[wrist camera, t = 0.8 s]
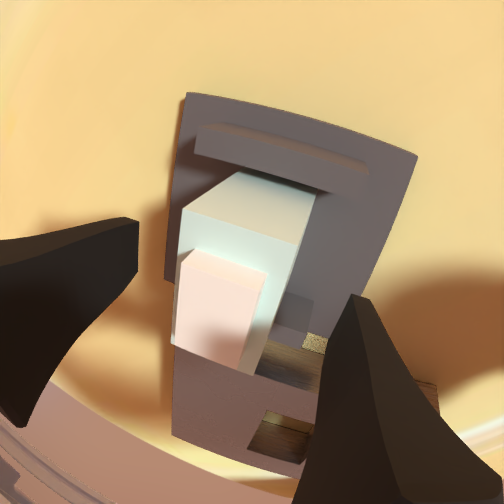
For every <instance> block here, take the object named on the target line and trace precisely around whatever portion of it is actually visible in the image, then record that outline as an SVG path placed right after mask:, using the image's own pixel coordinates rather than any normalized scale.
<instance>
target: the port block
mask: <svg viewBox="0 0 504 504" xmlns="http://www.w3.org/2000/svg"><path fill="white" fill-rule="evenodd" d="M323 360H324V355H322V354H319V353H316V352H313V351H310V350H307V349H303V348H300V350H299V349H296V348H293V347H290V346H287V345H284V344H281V343H278V342H275V341H273V340H270V339H267V341H266V344H265V346H264V349H263V352H262V354H261V357H260V359H259V362H258V365H257V367H256V370H255V372H254V375H253V376H251V375H248V374H246V373H243V372H240V371H237V370H235V369H232V368H229V367H227V366H224V365H222V364H219V363H217V362H214V361H211V360H209V359H206V358H204V357H202V356H199V355H197V354H194V353H192V352H190V351H187V350H185V349H182V348H180V347H178V346H176V345H175V356H174V374H173V398H172V435H173V436H175V437H177V438H179V439H182V440H184V441H186V442H189V443H191V444H193V445H196V446H198V447H201V448H203V449H206V450H208V451H211V452H213V453H216V454H219V455H221V456H224V457H227V458H230V459H233V460H235V461H238V462H241V463H244V464H247V465H250V466H254V467H257V468H260V469H263V470H267V471H270V472H274V473H277V474H281V475H285V476H288V477H292V478H296V479H300V478H301V475H302V472H303V469H304V466H305V462H306V459H307V455H308V452H309V448H310V445H311V441H312V436H313V431H314V426H315V425H314V426H313V427H312V429H311V430H310V431H309V432H308V434H305V433H302V432H298V431H295V430H291V429H288V428H284V427H281V426H278V425H275V424H271V423H268V422H265V421H262V419H263V417H264V415H265V413H266V411H267V410H268V411H271V412H274V413H277V414H281V415H284V416H287V417H290V418H294V419H297V420H301V421H304V422H308V423H311V424H315V419H316V411H317V403H318V395H319V386H320V378H321V369H322V364H323ZM415 382H416V383H417V385H418V386H419V388H420V389H421V391H422V392H423V393H424V395H425V396H426V398H427V399H428V401H429V402H430V403H431V405H432V406H433V407H434V409H435V410H436V411H437V412H438V414H439V415H440V410H439V403H438V396H437V389H436V385H431V384H427V383H423V382H419V381H415Z"/></svg>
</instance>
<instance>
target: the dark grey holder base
mask: <svg viewBox="0 0 504 504" xmlns="http://www.w3.org/2000/svg"><path fill="white" fill-rule="evenodd" d="M417 159H418V156H417V155H415V154H413V153H411V152H409V151H406V150H404V149H401V148H399V147H396V146H394V145H391V144H388V143H386V142H383V141H380V140H378V139H375V138H372V137H369V136H366V135H364V134H361V133H358V132H355V131H352V130H349V129H346V128H343V127H340V126H336V125H333V124H330V123H327V122H323V121H320V120H317V119H313V118H310V117H306V116H302V115H299V114H295V113H291V112H287V111H284V110H280V109H275V108H271V107H267V106H263V105H258V104H254V103H249V102H244V101H240V100H235V99H230V98H224V97H219V96H213V95H207V94H201V93H195V92H187V93H186V98H185V104H184V109H183V115H182V121H181V127H180V134H179V140H178V147H177V154H176V161H175V168H174V176H173V184H172V192H171V201H170V211H169V221H168V231H167V242H166V255H165V269H164V280H167V281H169V282H172V283H174V284H175V275H176V264H177V254H178V244H179V235H180V226H181V218H182V210H183V208H184V207H186V206H187V205H188V204H190V203H191V202H193V201H194V200H196V199H197V198H199V197H200V196H202V195H203V194H205V193H206V192H208V191H209V190H211V189H212V188H214V187H215V186H217V185H218V184H220V183H221V182H223V181H224V180H226V179H227V178H229V177H230V176H232V175H233V174H235V173H236V172H238V171H240V170H241V169H243V168H244V167H248V168H252V169H255V170H259V171H262V172H266V173H269V174H273V175H276V176H279V177H283V178H286V179H289V180H293V181H296V182H299V183H302V184H305V185H309V186H312V187H315V188H318V191H317V194H316V197H315V201H314V204H313V207H312V210H311V213H310V217H309V220H308V223H307V226H306V229H305V232H304V236H303V239H302V242H301V245H300V248H299V251H298V254H297V257H296V260H295V263H294V266H293V269H292V272H291V275H290V278H289V281H288V284H287V287H286V290H285V292H284V295H283V298H282V301H281V303H280V306H279V309H278V312H277V314H276V317H275V320H274V322H273V325H272V328H271V331H270V333H269V336H268V339H270V340H273V341H275V342H278V343H281V344H284V345H287V346H290V347H293V348H296V349H299V350H300V348H301V346H302V344H303V342H304V340H305V337H306V335H307V332H310V333H313V334H316V335H319V336H322V337H325V338H328V339H329V338H330V336H331V334H332V332H333V330H334V328H335V326H336V324H337V322H338V320H339V318H340V316H341V314H342V312H343V310H344V308H345V306H346V304H347V301H348V299H349V297H350V295H351V293H352V294H355V295H358V296H361V294H362V292H363V290H364V288H365V286H366V284H367V282H368V280H369V278H370V276H371V273H372V271H373V269H374V267H375V265H376V263H377V260H378V258H379V256H380V254H381V251H382V249H383V247H384V245H385V242H386V240H387V238H388V235H389V233H390V230H391V228H392V226H393V223H394V221H395V218H396V216H397V213H398V211H399V208H400V206H401V203H402V200H403V198H404V195H405V192H406V190H407V187H408V184H409V182H410V179H411V176H412V173H413V170H414V167H415V165H416V162H417Z"/></svg>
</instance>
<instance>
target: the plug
mask: <svg viewBox="0 0 504 504" xmlns="http://www.w3.org/2000/svg"><path fill="white" fill-rule="evenodd" d="M317 191H318V188H315V187H312V186H309V185H305V184H302V183H299V182H296V181H293V180H289V179H286V178H283V177H279V176H276V175H273V174H269V173H266V172H262V171H259V170H255V169H252V168H248V167H244V168H243V169H241V170H240V171H238V172H236V173H235V174H233V175H232V176H230V177H229V178H227V179H226V180H224V181H223V182H221V183H220V184H218V185H217V186H215V187H214V188H212V189H211V190H209V191H208V192H206V193H205V194H203V195H202V196H200V197H199V198H197V199H196V200H194V201H193V202H191V203H190V204H188V205H187V206H186V207H184V208H183V210H182V218H181V226H180V235H179V244H178V254H177V264H176V275H175V287H174V299H173V313H172V329H171V344H173V345H176V346H178V347H180V348H182V349H185V350H187V351H190V352H192V353H194V354H197V355H199V356H202V357H204V358H206V359H209V360H211V361H214V362H217V363H219V364H222V365H224V366H227V367H229V368H232V369H235V370H237V371H240V372H243V373H246V374H248V375H251V376H253V375H254V372H255V370H256V367H257V365H258V362H259V359H260V357H261V354H262V352H263V349H264V346H265V344H266V341H267V339H268V336H269V333H270V331H271V328H272V325H273V322H274V320H275V317H276V314H277V312H278V309H279V306H280V303H281V301H282V298H283V295H284V292H285V290H286V287H287V284H288V281H289V278H290V275H291V272H292V269H293V266H294V263H295V260H296V257H297V254H298V251H299V248H300V245H301V242H302V239H303V236H304V232H305V229H306V226H307V223H308V220H309V217H310V213H311V210H312V207H313V204H314V201H315V197H316V194H317Z"/></svg>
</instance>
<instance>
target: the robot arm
mask: <svg viewBox="0 0 504 504" xmlns="http://www.w3.org/2000/svg"><path fill="white" fill-rule="evenodd" d="M138 243H139V221H136V220H133V219H130V218H127V217H119V218H112V219H107V220H102V221H98V222H93V223H89V224H85V225H81V226H77V227H73V228H68V229H64V230H59V231H55V232H50V233H46V234H41V235H36V236H30V237H23V238H17V239H8V240H0V412H1V413H2V414H3V415H4V416H5V417H6V418H7V419H8V420H9V421H10V422H11V423H12V424H13V425H15V426H16V427H18V428H23V427H26V426H27V423H28V421H29V418H30V416H31V414H32V412H33V409H34V407H35V405H36V403H37V401H38V399H39V397H40V395H41V393H42V391H43V390H44V388H45V386H46V384H47V383H48V381H49V379H50V377H51V376H52V374H53V373H54V371H55V369H56V368H57V366H58V365H59V363H60V362H61V360H62V359H63V357H64V356H65V355H66V353H67V352H68V350H69V349H70V348H71V346H72V345H73V344H74V342H75V341H76V340H77V339H78V337H79V336H80V335H81V334H82V333H83V332H84V331H85V330H86V329H87V328H88V326H89V325H90V324H91V323H92V322H93V321H94V320H95V319H96V318H97V317H98V316H99V315H100V314H101V313H102V312H103V311H104V310H105V309H106V308H107V307H108V306H109V305H110V304H111V303H112V302H113V301H114V300H115V299H116V298H117V297H118V296H119V295H120V294H121V293H122V292H123V291H124V289H125V288H126V287H127V286H128V284H129V283H130V282H131V280H132V279H133V278H134V276H135V275H136V273H137V272H138ZM0 446H1V447H2V448H3V449H4V450H5V451H6V452H8V454H10V455H11V456H12V457H13V458H14V459H15V460H16V461H17V462H18V463H20V464H21V465H22V466H23V467H24V468H25V469H27V470H28V471H29V472H30V473H31V474H33V475H34V476H35V477H36V478H37V479H39V480H40V481H41V482H42V483H44V484H45V485H46V486H48V487H49V488H50V489H52V490H53V491H54V492H56V493H57V494H58V495H60V496H61V497H63V498H64V499H65V500H67V501H69V502H70V503H71V504H117V503H116V502H114V501H112V500H110V499H109V498H107V497H105V496H103V495H101V494H100V493H98V492H97V491H95V490H93V489H91V488H90V487H88V486H87V485H85V484H84V483H82V482H81V481H79V480H78V479H76V478H75V477H73V476H72V475H70V474H69V473H67V472H66V471H65V470H63V469H62V468H60V467H59V466H58V465H56V464H55V463H54V462H52V461H51V460H50V459H48V458H47V457H46V456H44V455H43V454H42V453H41V452H39V451H38V450H37V449H35V447H33V446H32V445H31V444H30V443H28V442H27V441H26V440H25V439H24V438H23V437H22V436H20V435H19V434H18V433H17V432H16V431H15V430H14V429H13V428H11V427H10V426H9V425H8V424H7V423H6V422H5V421H4V420H3V419H2V418H1V417H0ZM19 478H20V474H19V473H18V472H17V471H16V470H15V469H14V468H13V467H12V466H11V465H10V464H9V463H8V462H6V461H5V460H4V459H3V458H2V457H1V456H0V504H38V503H37V502H35V501H34V500H33V499H31V498H30V497H29V496H28V495H26V494H25V493H24V492H23V491H22V490H20V489H19V488H18V487H17V486H16V485H15V483H16V482H17V480H18V479H19ZM292 504H504V497H503V484H502V478H501V476H500V475H498V474H497V473H496V472H495V471H494V470H493V469H492V468H490V467H489V466H488V465H487V464H486V463H485V462H483V461H482V460H481V459H480V458H479V457H478V456H477V455H476V454H475V453H473V452H472V450H471V449H470V448H469V447H468V446H467V445H466V444H465V443H464V442H463V441H462V440H461V439H460V438H459V437H458V436H457V435H456V434H455V433H454V432H453V430H452V429H451V428H450V427H449V426H448V425H447V423H446V422H445V421H444V420H443V419H442V417H441V416H440V415H439V414H438V412H437V411H436V410H435V409H434V407H433V406H432V405H431V403H430V402H429V401H428V399H427V398H426V396H425V395H424V393H423V392H422V391H421V389H420V388H419V386H418V385H417V383H416V382H415V380H414V379H413V377H412V376H411V374H410V372H409V371H408V369H407V367H406V366H405V364H404V362H403V361H402V359H401V357H400V356H399V354H398V352H397V350H396V348H395V347H394V345H393V343H392V341H391V339H390V337H389V335H388V333H387V331H386V330H385V328H384V326H383V324H382V322H381V320H380V318H379V316H378V314H377V312H376V310H375V308H374V306H373V305H372V303H371V301H370V299H367V298H364V297H361V296H358V295H355V294H352V293H351V295H350V297H349V299H348V301H347V304H346V306H345V308H344V310H343V312H342V314H341V316H340V318H339V320H338V322H337V324H336V326H335V328H334V330H333V332H332V334H331V336H330V338H329V339H328V342H327V347H326V351H325V355H324V360H323V364H322V369H321V378H320V386H319V395H318V403H317V411H316V419H315V426H314V431H313V436H312V441H311V445H310V448H309V452H308V455H307V459H306V462H305V466H304V469H303V472H302V475H301V478H300V481H299V484H298V487H297V490H296V493H295V495H294V498H293V501H292Z"/></svg>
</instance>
